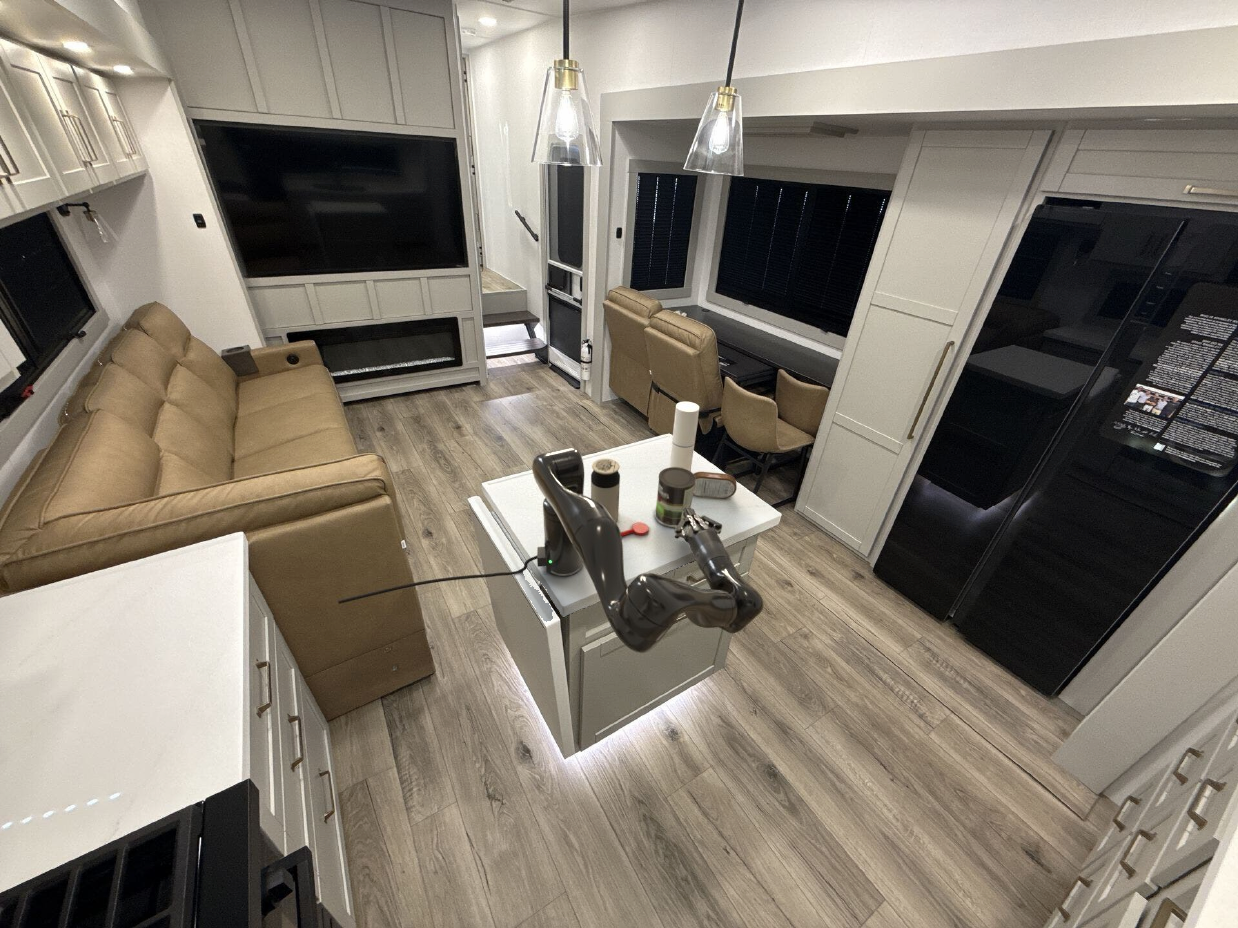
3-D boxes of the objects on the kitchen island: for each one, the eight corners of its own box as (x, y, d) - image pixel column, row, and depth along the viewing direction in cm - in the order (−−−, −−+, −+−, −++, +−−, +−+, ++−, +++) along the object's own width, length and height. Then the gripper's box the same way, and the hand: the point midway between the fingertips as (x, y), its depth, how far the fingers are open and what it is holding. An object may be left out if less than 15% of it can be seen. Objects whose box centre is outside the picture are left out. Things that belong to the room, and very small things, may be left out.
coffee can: (664, 530, 136) (668, 490, 129) (649, 509, 144) (652, 470, 137) (696, 523, 140) (702, 483, 132) (680, 503, 148) (685, 464, 140)
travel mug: (587, 523, 138) (587, 470, 128) (595, 506, 144) (595, 455, 135) (614, 528, 136) (616, 475, 127) (621, 511, 143) (623, 460, 133)
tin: (733, 495, 152) (738, 473, 147) (734, 501, 149) (739, 479, 145) (686, 491, 153) (689, 469, 148) (686, 497, 150) (689, 474, 146)
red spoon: (598, 548, 129) (598, 545, 128) (591, 538, 133) (591, 535, 132) (651, 532, 135) (651, 529, 135) (643, 523, 139) (643, 520, 138)
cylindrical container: (666, 477, 159) (673, 409, 146) (671, 466, 165) (678, 400, 151) (688, 482, 157) (697, 413, 144) (691, 470, 163) (701, 403, 150)
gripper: (682, 569, 115) (662, 523, 129) (734, 562, 117) (708, 518, 131) (685, 545, 111) (664, 500, 125) (739, 539, 113) (712, 496, 127)
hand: (687, 509), depth 128 cm, fingers closed
